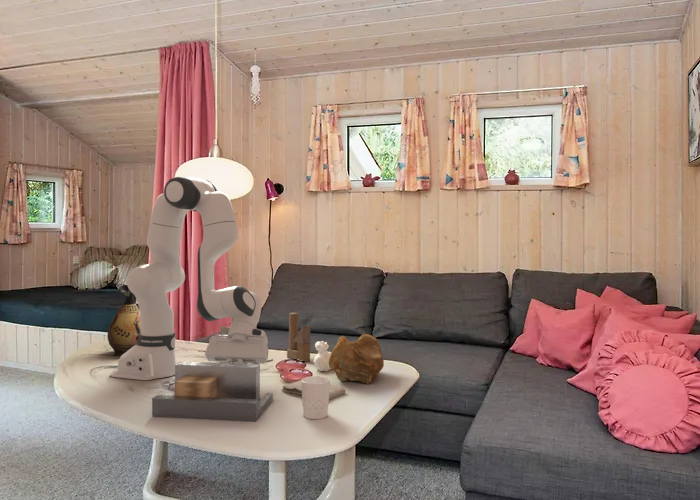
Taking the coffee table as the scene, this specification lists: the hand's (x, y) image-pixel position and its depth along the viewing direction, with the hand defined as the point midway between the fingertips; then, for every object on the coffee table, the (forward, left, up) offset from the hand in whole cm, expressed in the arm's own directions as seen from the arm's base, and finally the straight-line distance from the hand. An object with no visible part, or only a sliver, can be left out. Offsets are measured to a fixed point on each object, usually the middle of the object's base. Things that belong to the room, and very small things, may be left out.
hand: (231, 372), depth 174 cm
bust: (+25, +31, -6) cm, 41 cm away
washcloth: (+26, +2, -7) cm, 27 cm away
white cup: (+30, -19, -6) cm, 36 cm away
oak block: (-4, -19, -6) cm, 21 cm away
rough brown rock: (+40, +19, -6) cm, 45 cm away
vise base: (0, -16, -6) cm, 17 cm away
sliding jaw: (0, -14, -6) cm, 16 cm away
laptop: (-7, +42, -6) cm, 43 cm away
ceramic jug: (-57, +44, -6) cm, 73 cm away
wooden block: (+13, +44, -6) cm, 47 cm away
